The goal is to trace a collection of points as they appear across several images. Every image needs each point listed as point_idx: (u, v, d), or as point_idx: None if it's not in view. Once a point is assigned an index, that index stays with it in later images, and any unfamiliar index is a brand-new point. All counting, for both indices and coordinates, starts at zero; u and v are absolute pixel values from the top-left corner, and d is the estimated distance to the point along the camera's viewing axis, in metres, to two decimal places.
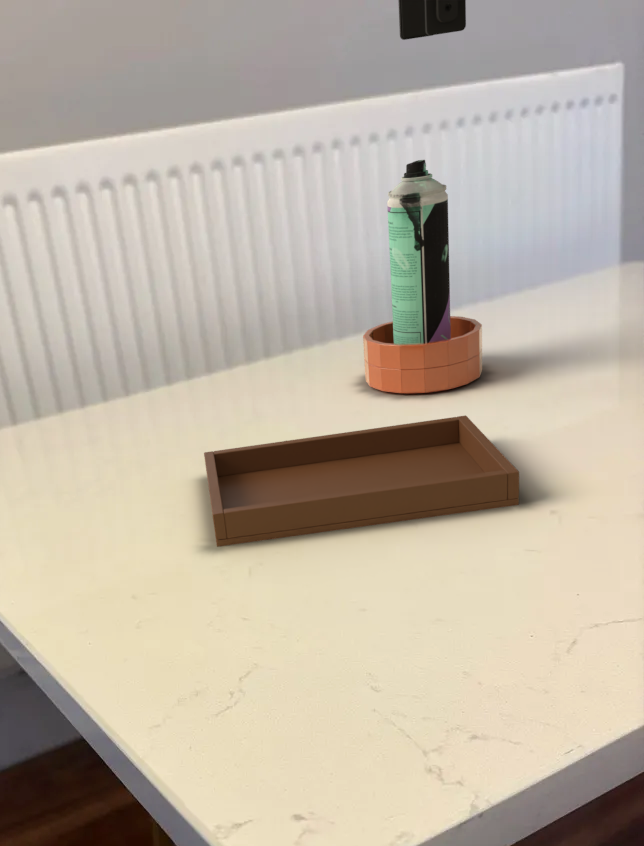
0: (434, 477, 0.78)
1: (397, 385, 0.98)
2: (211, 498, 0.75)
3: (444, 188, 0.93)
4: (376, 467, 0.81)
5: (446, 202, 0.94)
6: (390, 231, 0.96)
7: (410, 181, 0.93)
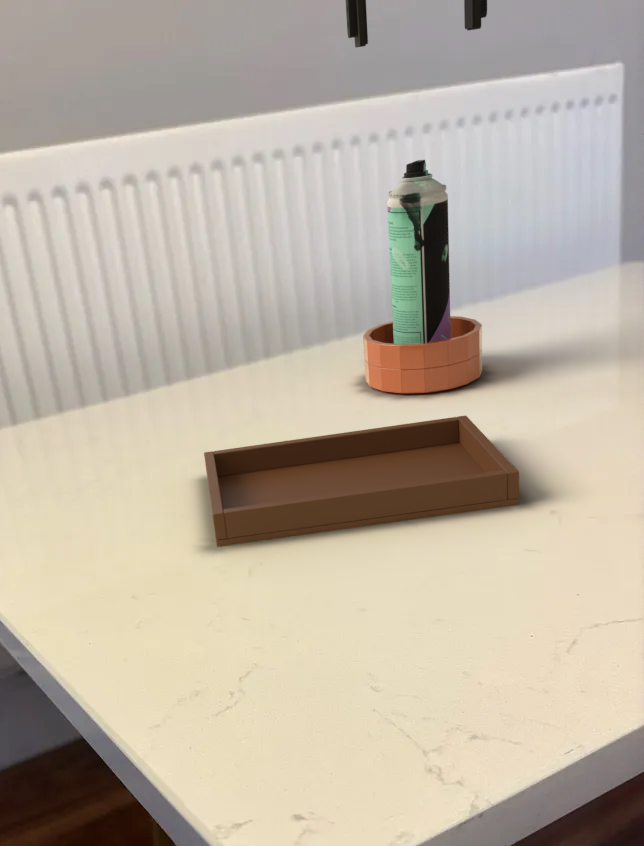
0: (434, 477, 0.78)
1: (397, 385, 0.98)
2: (211, 498, 0.75)
3: (444, 188, 0.93)
4: (376, 467, 0.81)
5: (446, 202, 0.94)
6: (390, 231, 0.96)
7: (410, 181, 0.93)
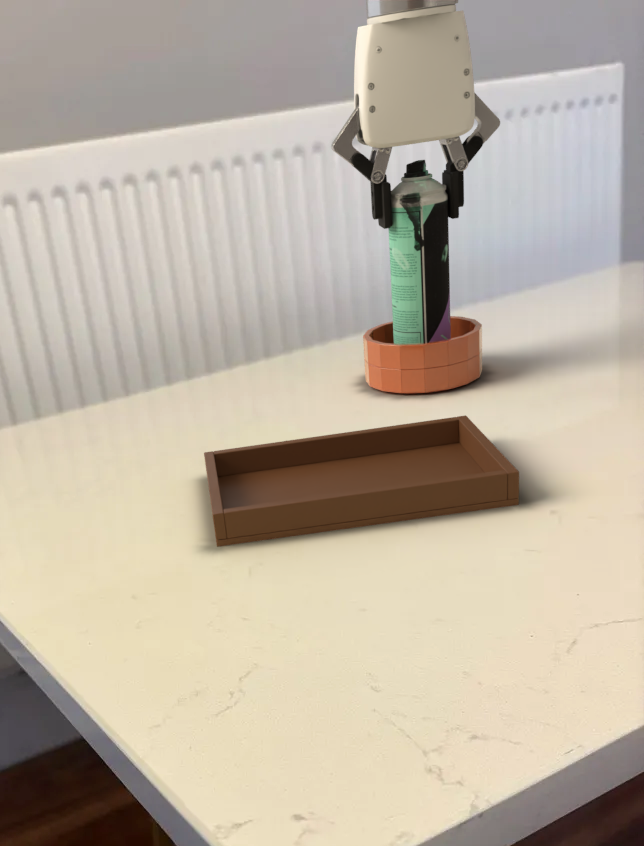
0: (434, 477, 0.78)
1: (397, 385, 0.98)
2: (211, 498, 0.75)
3: (444, 188, 0.93)
4: (376, 467, 0.81)
5: (446, 202, 0.94)
6: (390, 231, 0.96)
7: (410, 181, 0.93)
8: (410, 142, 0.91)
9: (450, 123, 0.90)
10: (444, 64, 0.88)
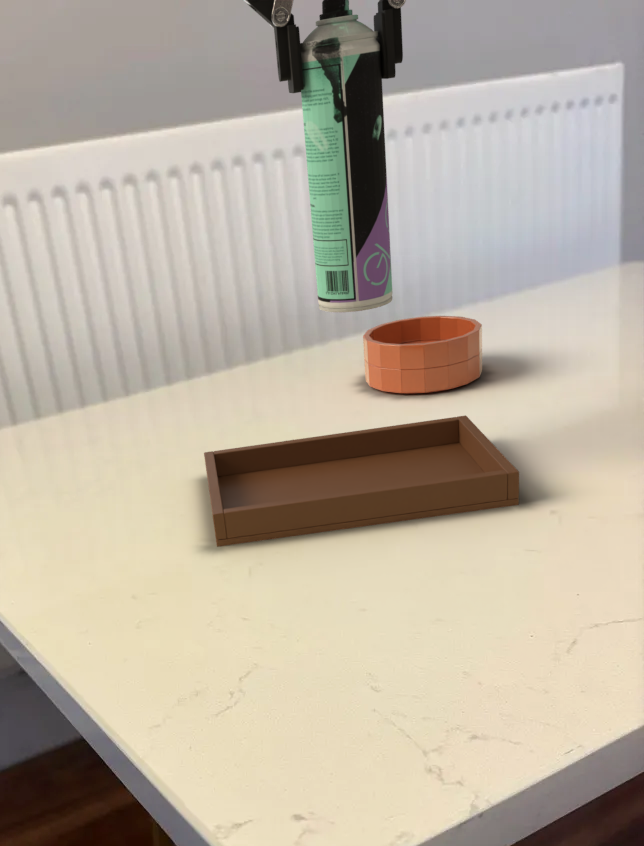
0: (434, 477, 0.78)
1: (397, 385, 0.98)
2: (211, 498, 0.75)
3: (374, 33, 0.67)
4: (376, 467, 0.81)
5: (378, 55, 0.68)
6: (303, 98, 0.70)
7: (327, 23, 0.67)
8: None
9: None
10: None
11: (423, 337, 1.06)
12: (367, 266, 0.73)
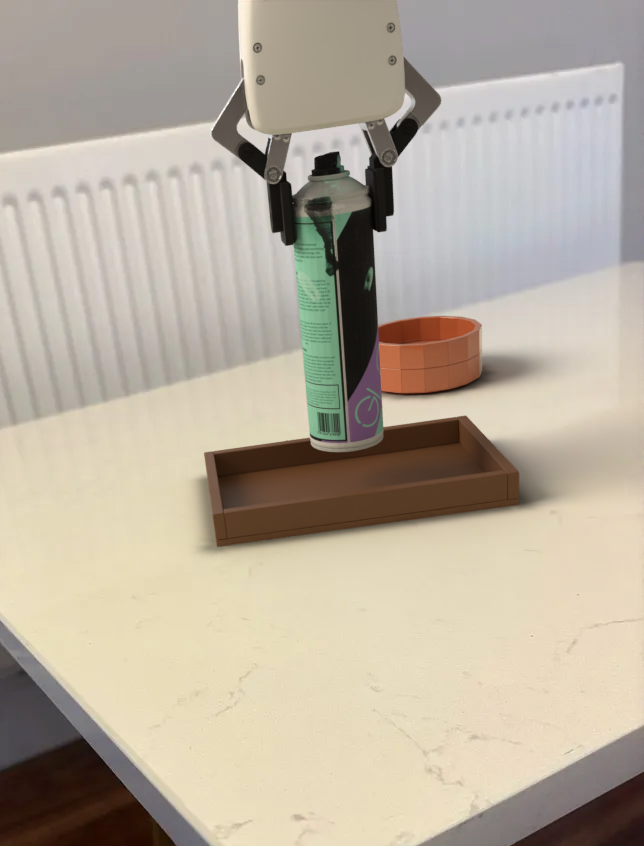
0: (434, 477, 0.78)
1: (397, 385, 0.98)
2: (211, 498, 0.75)
3: (365, 190, 0.68)
4: (376, 467, 0.81)
5: (370, 210, 0.69)
6: (295, 249, 0.70)
7: (319, 180, 0.68)
8: (316, 127, 0.66)
9: (370, 100, 0.65)
10: (359, 16, 0.63)
11: (423, 337, 1.06)
12: (358, 410, 0.73)
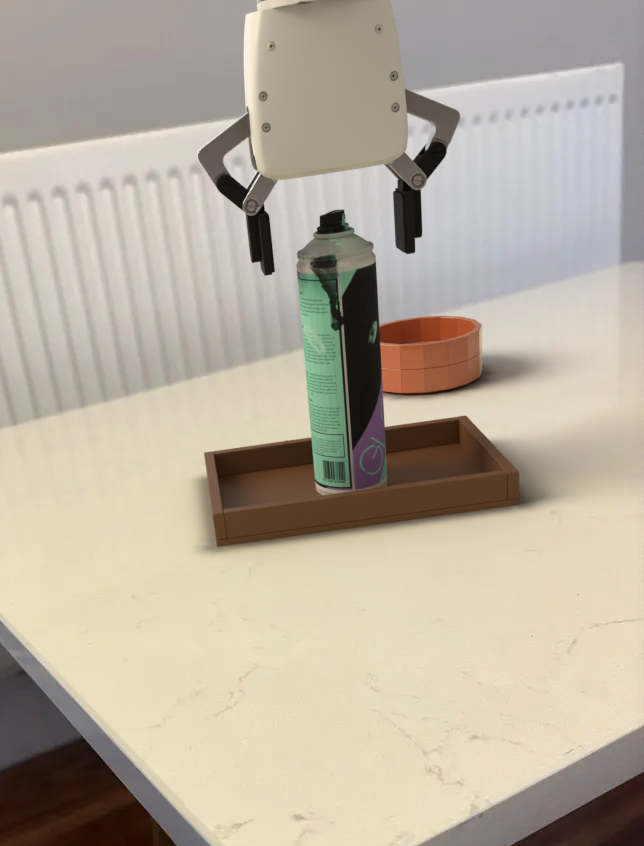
0: (434, 477, 0.78)
1: (397, 385, 0.98)
2: (211, 498, 0.75)
3: (370, 248, 0.70)
4: None
5: (374, 266, 0.70)
6: (300, 303, 0.72)
7: (324, 238, 0.70)
8: (321, 172, 0.67)
9: (374, 146, 0.66)
10: (363, 65, 0.64)
11: (423, 337, 1.06)
12: (363, 458, 0.75)
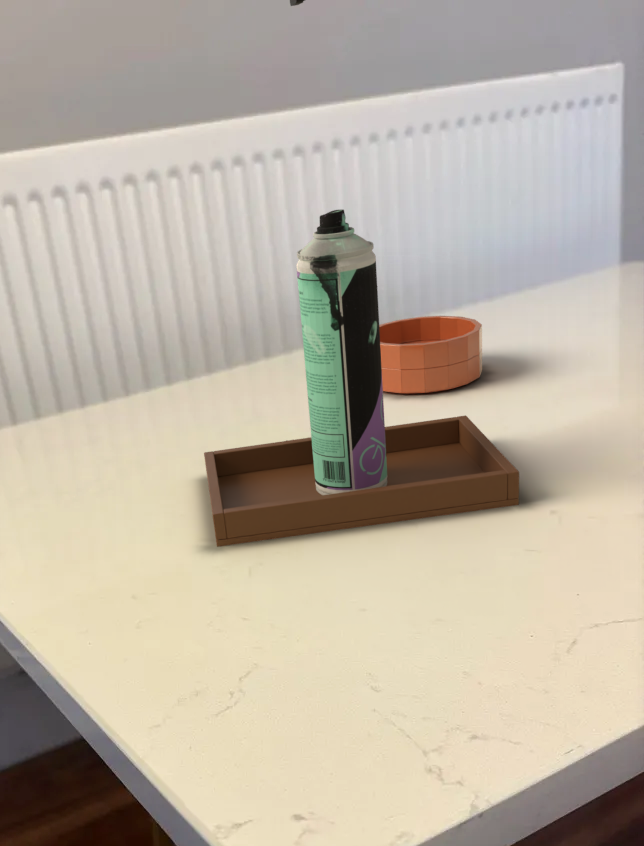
0: (434, 477, 0.78)
1: (397, 385, 0.98)
2: (211, 498, 0.75)
3: (370, 248, 0.70)
4: None
5: (374, 266, 0.70)
6: (300, 303, 0.72)
7: (324, 238, 0.70)
8: None
9: None
10: None
11: (423, 337, 1.06)
12: (363, 458, 0.75)
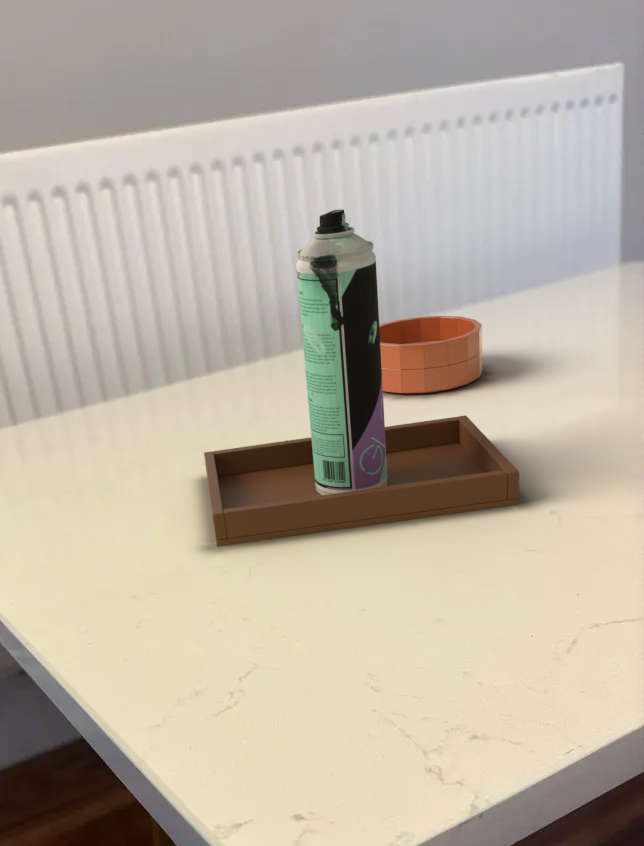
0: (434, 477, 0.78)
1: (397, 385, 0.98)
2: (211, 498, 0.75)
3: (370, 248, 0.70)
4: None
5: (374, 266, 0.70)
6: (300, 303, 0.72)
7: (324, 238, 0.70)
8: None
9: None
10: None
11: (423, 337, 1.06)
12: (363, 458, 0.75)
